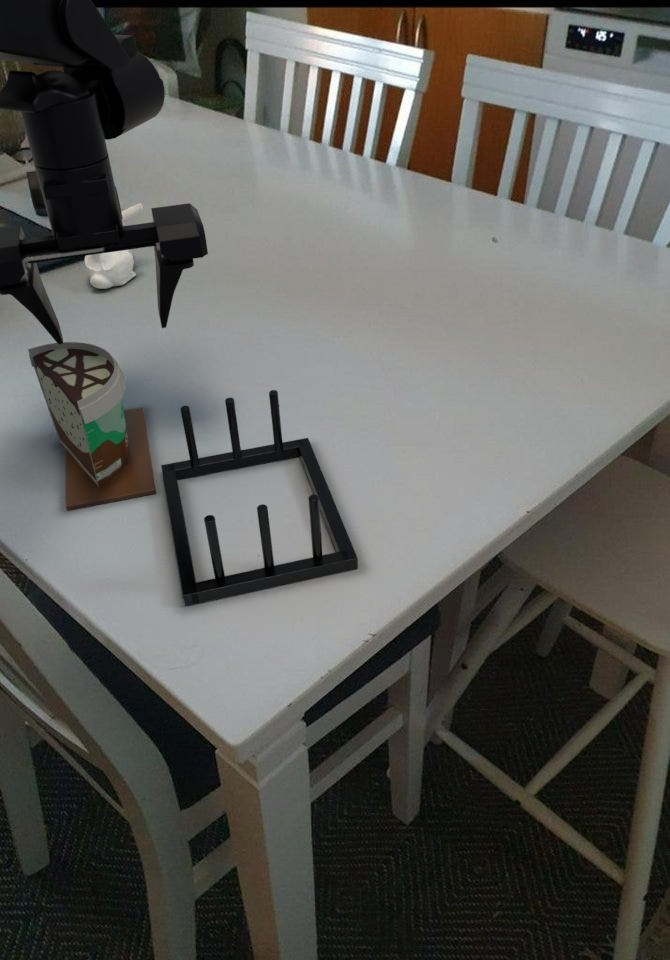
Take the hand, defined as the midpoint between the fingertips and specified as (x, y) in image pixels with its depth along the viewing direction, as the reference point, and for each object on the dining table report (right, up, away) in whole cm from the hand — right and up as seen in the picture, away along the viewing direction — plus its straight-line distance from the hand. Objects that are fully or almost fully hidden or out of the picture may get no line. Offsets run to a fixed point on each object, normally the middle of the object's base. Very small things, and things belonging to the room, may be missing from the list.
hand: (112, 333), depth 73 cm
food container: (-2, -11, +6) cm, 12 cm away
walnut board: (-2, -11, +6) cm, 13 cm away
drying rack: (+13, -17, -2) cm, 21 cm away
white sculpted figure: (-9, +15, +37) cm, 41 cm away
